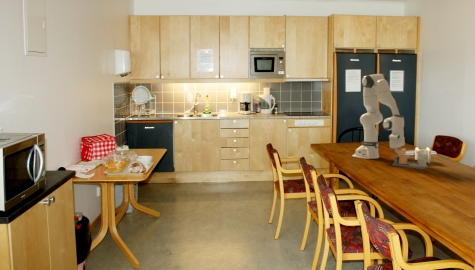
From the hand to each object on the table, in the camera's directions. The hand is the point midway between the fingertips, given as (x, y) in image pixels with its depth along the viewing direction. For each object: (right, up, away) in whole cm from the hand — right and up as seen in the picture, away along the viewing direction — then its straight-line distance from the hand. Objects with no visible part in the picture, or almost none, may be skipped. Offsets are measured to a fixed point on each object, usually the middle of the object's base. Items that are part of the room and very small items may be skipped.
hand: (397, 152), depth 354 cm
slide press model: (+8, -11, -6) cm, 14 cm away
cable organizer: (+23, -9, +9) cm, 26 cm away
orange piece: (+5, -8, -3) cm, 10 cm away
